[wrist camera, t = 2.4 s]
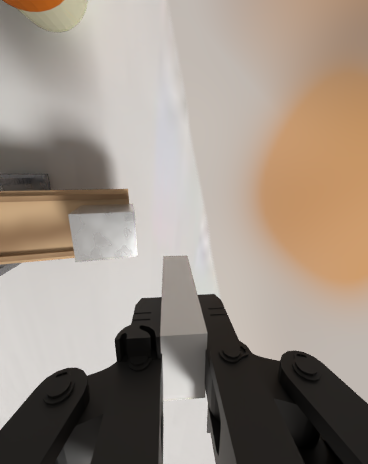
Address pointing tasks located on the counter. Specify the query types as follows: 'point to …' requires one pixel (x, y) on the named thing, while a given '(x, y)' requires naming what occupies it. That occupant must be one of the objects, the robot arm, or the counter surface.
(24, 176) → the balance stand
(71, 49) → the counter surface
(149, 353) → the robot arm
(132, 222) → the block
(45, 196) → the balance beam
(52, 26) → the reusable coffee cup
